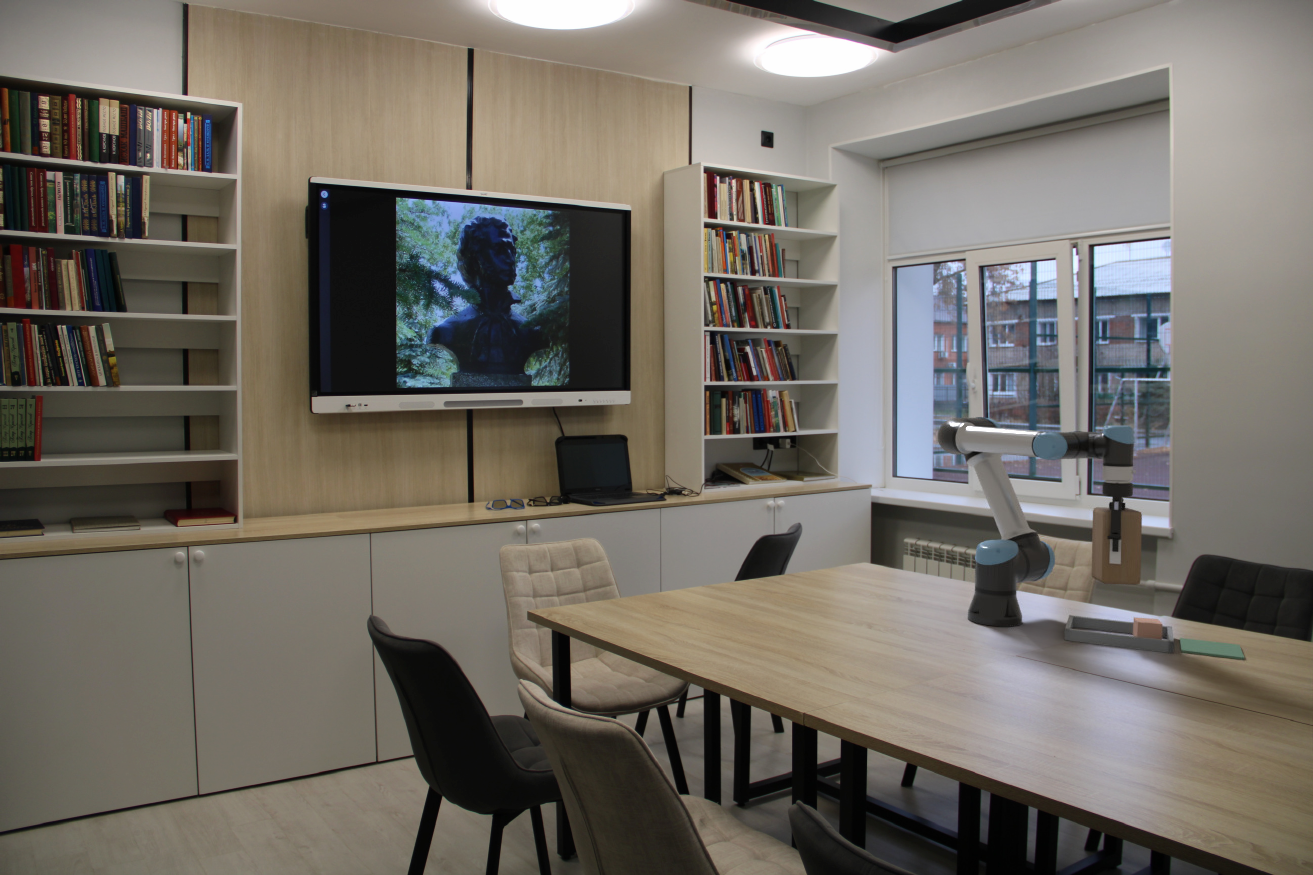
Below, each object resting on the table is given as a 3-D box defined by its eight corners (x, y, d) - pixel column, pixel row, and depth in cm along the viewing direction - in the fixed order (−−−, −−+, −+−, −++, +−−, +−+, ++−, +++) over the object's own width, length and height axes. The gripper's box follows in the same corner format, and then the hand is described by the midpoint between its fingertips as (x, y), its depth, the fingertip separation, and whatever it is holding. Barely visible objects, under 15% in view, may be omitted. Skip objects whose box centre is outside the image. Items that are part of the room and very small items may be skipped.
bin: (1064, 639, 257) (1064, 629, 257) (1068, 625, 273) (1069, 615, 273) (1173, 653, 245) (1174, 641, 245) (1171, 637, 261) (1172, 626, 261)
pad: (1181, 652, 246) (1181, 650, 246) (1179, 639, 258) (1179, 637, 258) (1244, 659, 239) (1244, 657, 239) (1239, 646, 252) (1239, 644, 252)
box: (1136, 644, 254) (1137, 622, 253) (1132, 638, 259) (1133, 617, 259) (1161, 646, 252) (1162, 624, 251) (1156, 640, 258) (1157, 619, 257)
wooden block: (1127, 578, 263) (1129, 507, 262) (1141, 585, 253) (1143, 511, 252) (1090, 577, 264) (1091, 506, 263) (1102, 584, 254) (1104, 510, 253)
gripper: (1131, 485, 245) (1130, 567, 246) (1134, 479, 266) (1132, 554, 267) (1100, 484, 248) (1098, 565, 249) (1104, 478, 270) (1103, 552, 270)
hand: (1116, 560), depth 258 cm, fingers closed on wooden block, 12 cm apart
